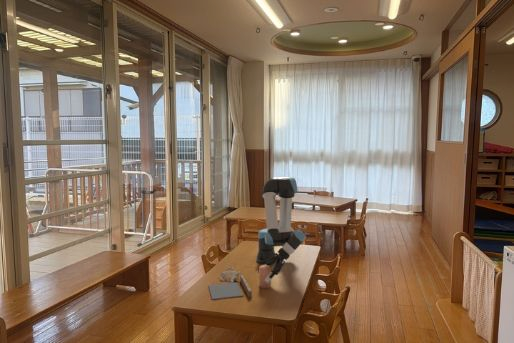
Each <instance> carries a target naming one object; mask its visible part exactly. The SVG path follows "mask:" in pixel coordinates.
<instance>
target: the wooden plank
mask: <svg viewBox="0 0 514 343" xmlns="http://www.w3.org/2000/svg"><path fill="white" fill-rule="evenodd" d="M239 277H240V279H239V280H240V282H241V283H240V284H241V285H242V287H243V289H244V291H245V294H246V295H247V296H248V298H249V299H251V298H253V295H252V294H253V292H252V289H251V287H250V285H249V283H248V282H247V280H246V278H245V277H244V275H243V274H239Z"/></svg>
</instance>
